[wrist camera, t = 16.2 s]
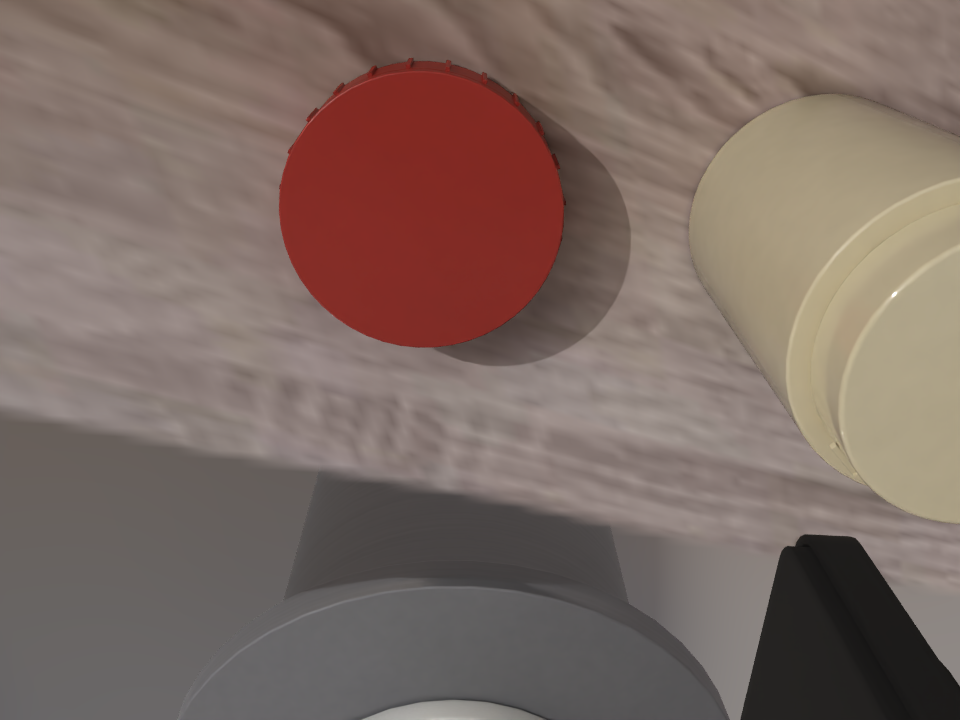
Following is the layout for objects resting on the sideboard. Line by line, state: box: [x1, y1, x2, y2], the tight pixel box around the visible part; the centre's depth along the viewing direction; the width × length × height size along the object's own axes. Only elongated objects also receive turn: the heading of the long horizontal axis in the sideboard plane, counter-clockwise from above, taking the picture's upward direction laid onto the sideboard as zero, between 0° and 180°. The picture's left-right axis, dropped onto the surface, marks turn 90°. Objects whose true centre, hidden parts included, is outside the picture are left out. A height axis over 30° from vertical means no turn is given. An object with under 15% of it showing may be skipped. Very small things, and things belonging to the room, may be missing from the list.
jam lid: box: [279, 58, 566, 347], centre depth 22 cm, size 7×7×2 cm
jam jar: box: [689, 94, 960, 524], centre depth 19 cm, size 6×6×10 cm
